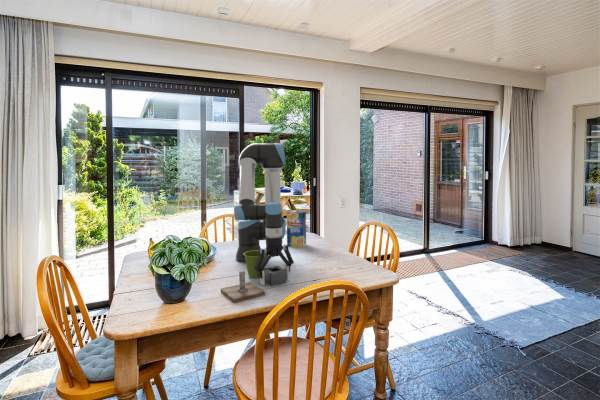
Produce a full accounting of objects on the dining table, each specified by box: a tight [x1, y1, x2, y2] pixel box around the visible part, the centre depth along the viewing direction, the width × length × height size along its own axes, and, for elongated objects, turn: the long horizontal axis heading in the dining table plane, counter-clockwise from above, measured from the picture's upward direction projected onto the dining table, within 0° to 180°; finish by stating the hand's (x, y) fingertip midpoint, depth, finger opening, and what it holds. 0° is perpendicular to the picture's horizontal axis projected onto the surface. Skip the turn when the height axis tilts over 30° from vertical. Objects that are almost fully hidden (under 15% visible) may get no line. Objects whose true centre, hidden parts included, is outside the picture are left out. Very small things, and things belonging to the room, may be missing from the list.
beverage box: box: [286, 210, 307, 248], centre depth 231 cm, size 7×11×22 cm, turn 73°
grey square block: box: [263, 265, 288, 288], centre depth 166 cm, size 8×8×6 cm
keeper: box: [220, 270, 266, 304], centre depth 152 cm, size 14×14×10 cm
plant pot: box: [243, 250, 267, 279], centre depth 175 cm, size 12×12×11 cm
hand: (274, 281), depth 166 cm, fingers open, 12 cm apart
